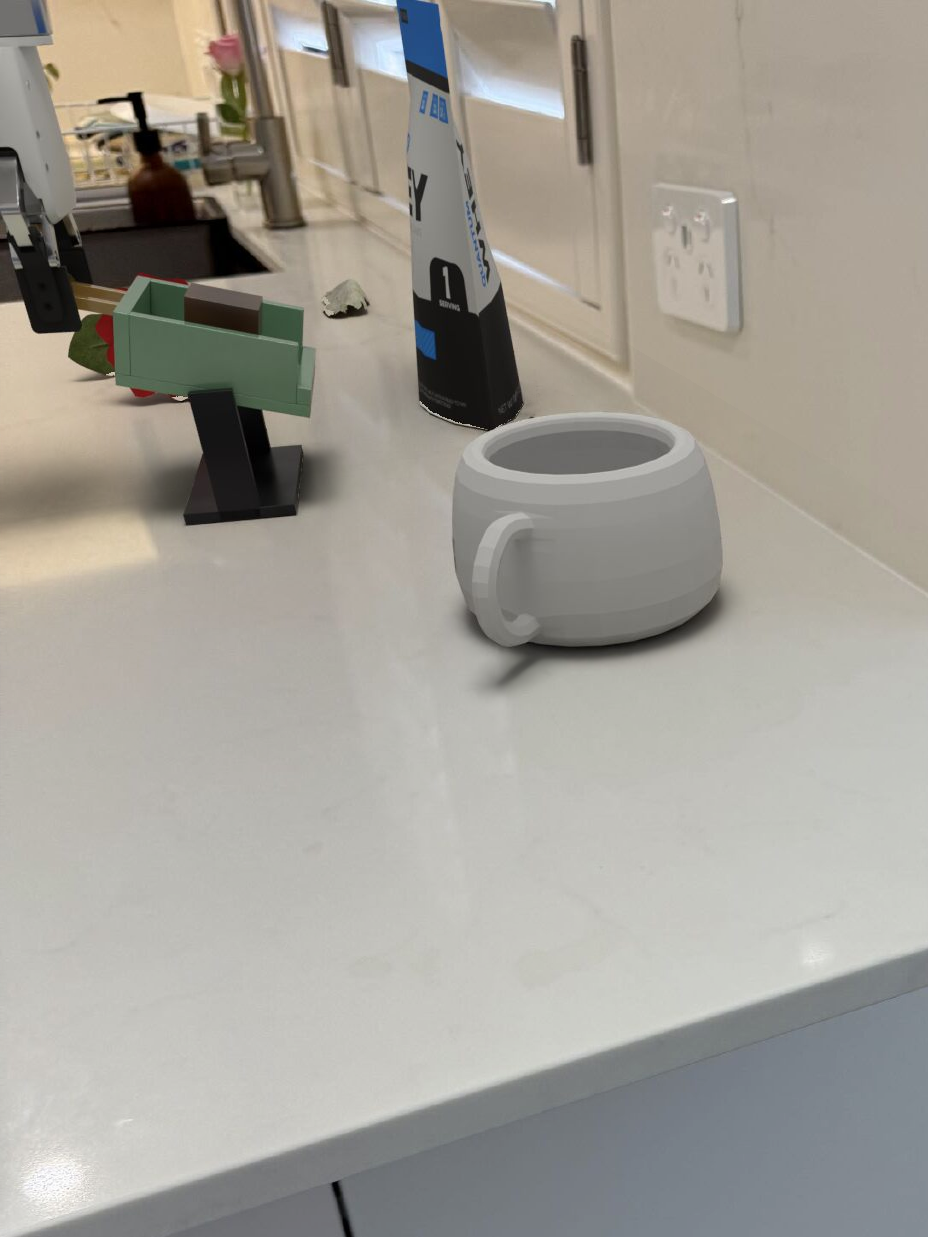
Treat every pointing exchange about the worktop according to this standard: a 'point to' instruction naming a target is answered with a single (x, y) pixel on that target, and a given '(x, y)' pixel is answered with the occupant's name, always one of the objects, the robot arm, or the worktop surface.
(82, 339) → the flower
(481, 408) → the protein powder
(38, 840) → the worktop surface
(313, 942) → the worktop surface
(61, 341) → the worktop surface
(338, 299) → the grey jagged shell
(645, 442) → the mug
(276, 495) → the base
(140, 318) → the dish
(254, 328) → the block
